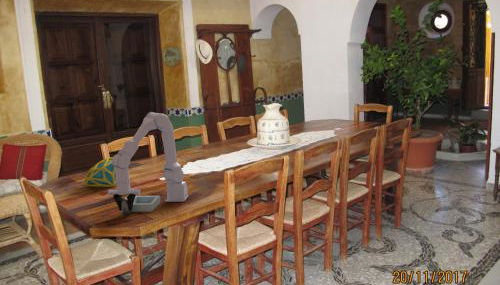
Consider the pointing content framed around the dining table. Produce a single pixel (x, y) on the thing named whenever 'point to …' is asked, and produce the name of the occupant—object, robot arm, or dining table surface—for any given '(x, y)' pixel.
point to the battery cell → (125, 207)
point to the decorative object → (101, 174)
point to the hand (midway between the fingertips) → (126, 210)
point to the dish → (145, 203)
